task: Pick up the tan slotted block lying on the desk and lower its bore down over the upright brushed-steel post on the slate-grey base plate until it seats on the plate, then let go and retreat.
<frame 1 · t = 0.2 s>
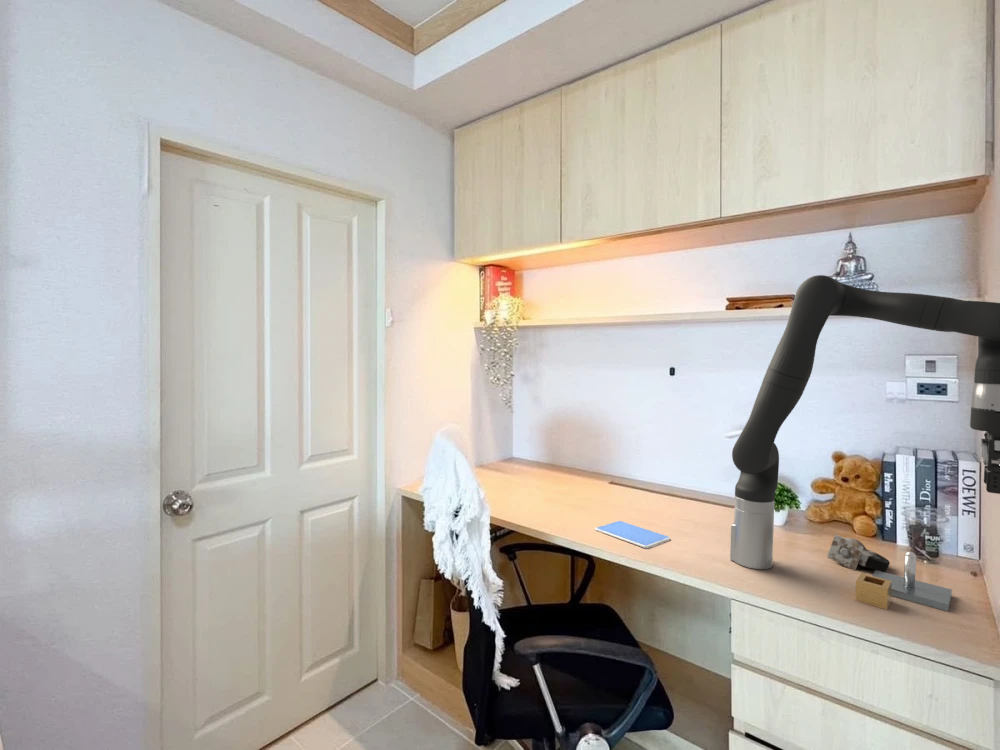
hand: (992, 488, 98), 28 cm above the table, fingers open, 8 cm apart
tablet computer: (631, 536, 150), on the table
tan slotted block: (873, 600, 110), on the table
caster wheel: (860, 566, 129), on the table
post block: (909, 592, 114), on the table
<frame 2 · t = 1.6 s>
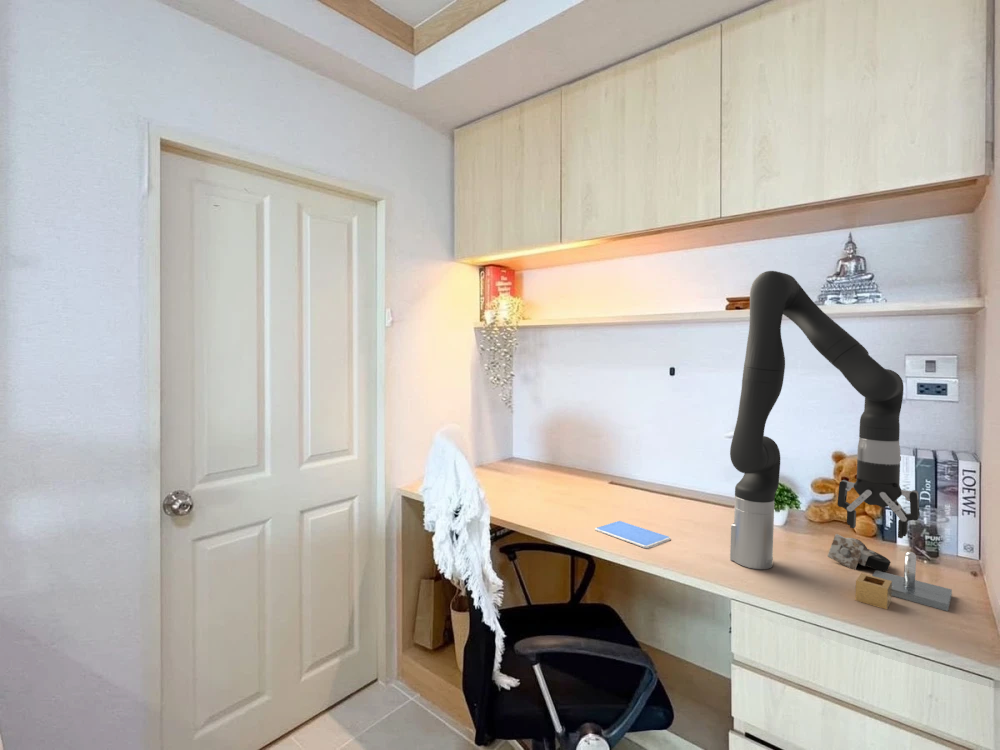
hand: (876, 532, 110), 15 cm above the table, fingers open, 8 cm apart
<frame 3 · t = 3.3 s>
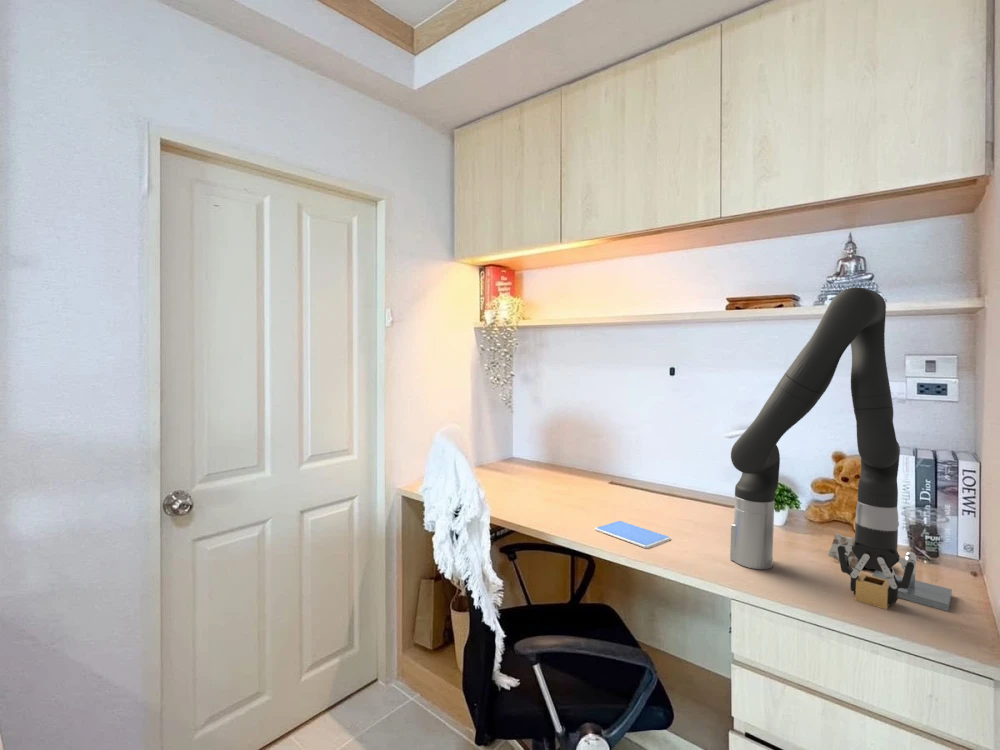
hand: (873, 598, 110), 1 cm above the table, fingers closed on tan slotted block, 5 cm apart
tan slotted block: (873, 600, 110), on the table, touching gripper
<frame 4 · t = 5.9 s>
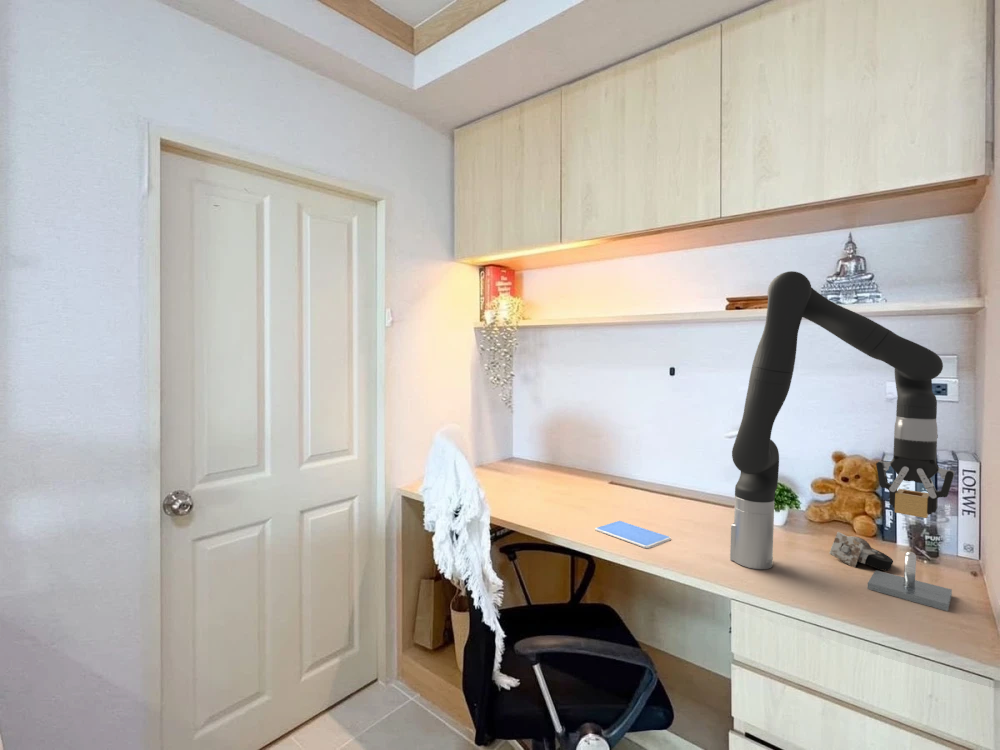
hand: (912, 510, 114), 19 cm above the table, fingers closed on tan slotted block, 5 cm apart
tan slotted block: (912, 512, 114), point 19 cm above the table, touching gripper
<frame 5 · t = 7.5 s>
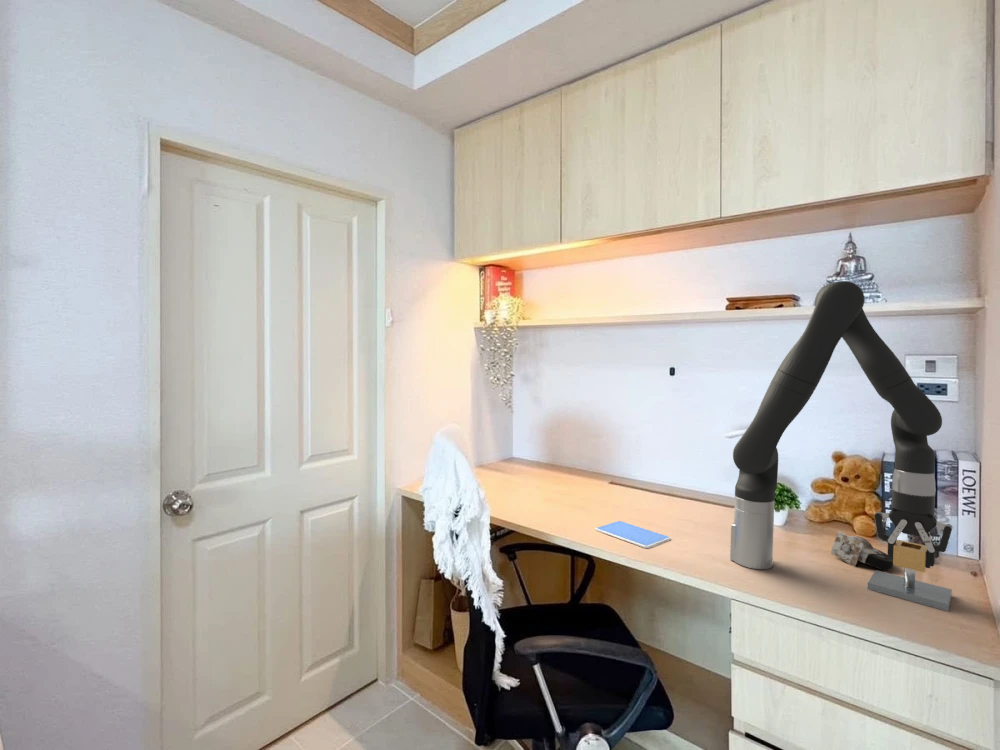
hand: (910, 562, 114), 7 cm above the table, fingers closed on tan slotted block, 5 cm apart
tan slotted block: (910, 565, 114), point 6 cm above the table, touching gripper
when the fingers open (3 cm above the table, at t = 8.8 s): tan slotted block stays where it is, resting on post block.
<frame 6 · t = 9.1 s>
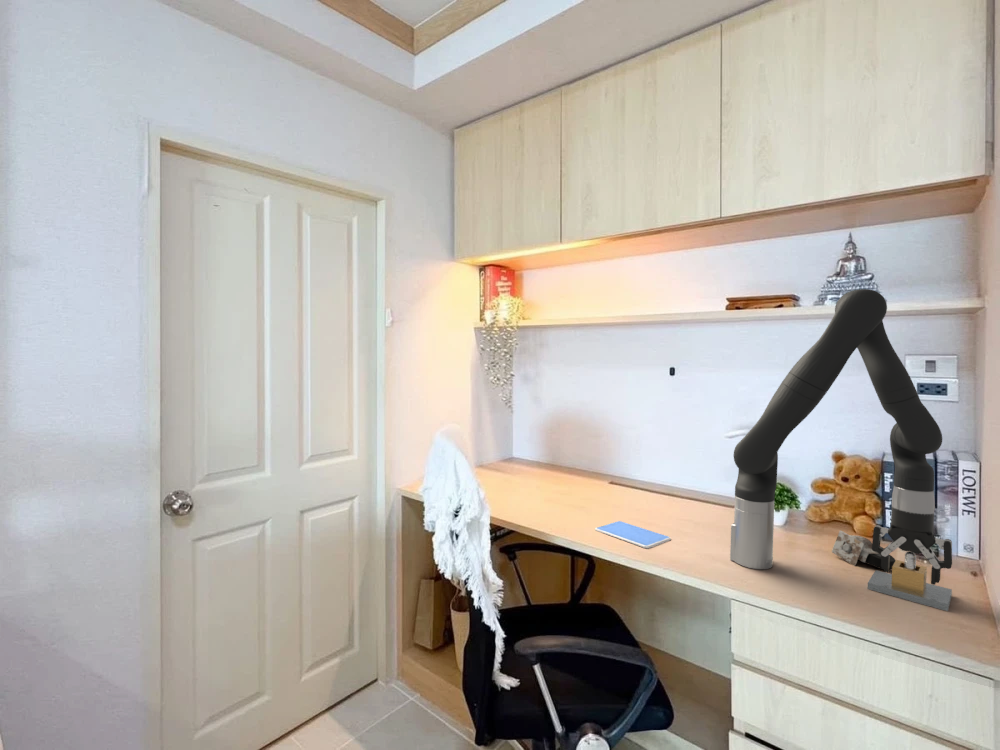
hand: (909, 577, 114), 4 cm above the table, fingers open, 8 cm apart
tan slotted block: (908, 586, 114), point 1 cm above the table, touching post block
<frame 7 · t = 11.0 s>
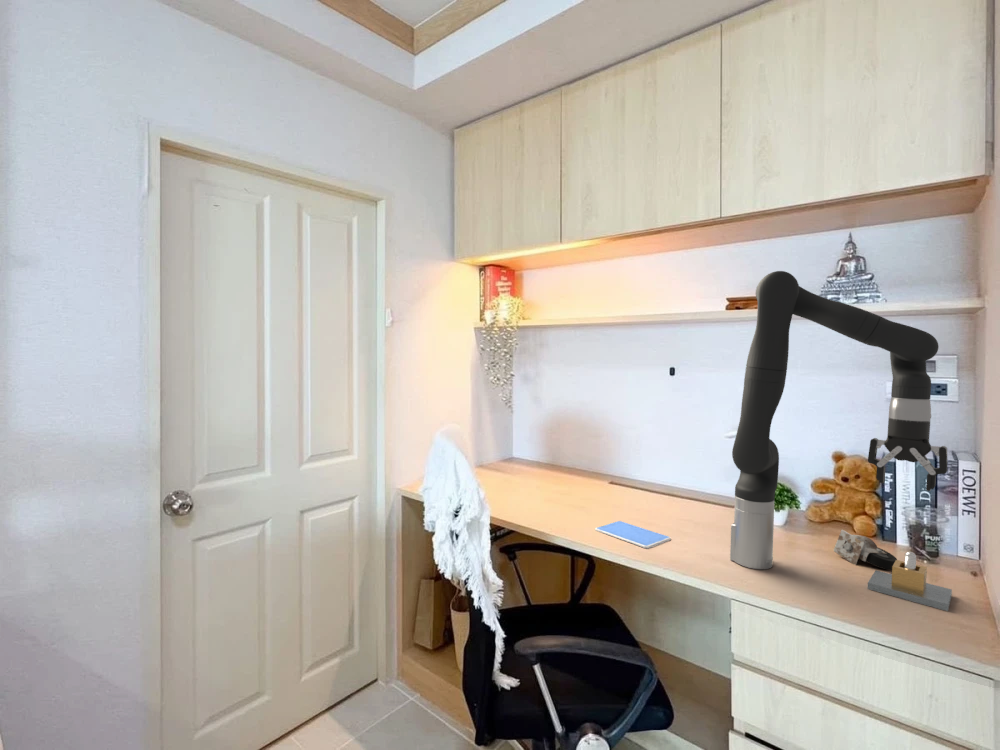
hand: (904, 486, 116), 24 cm above the table, fingers open, 8 cm apart
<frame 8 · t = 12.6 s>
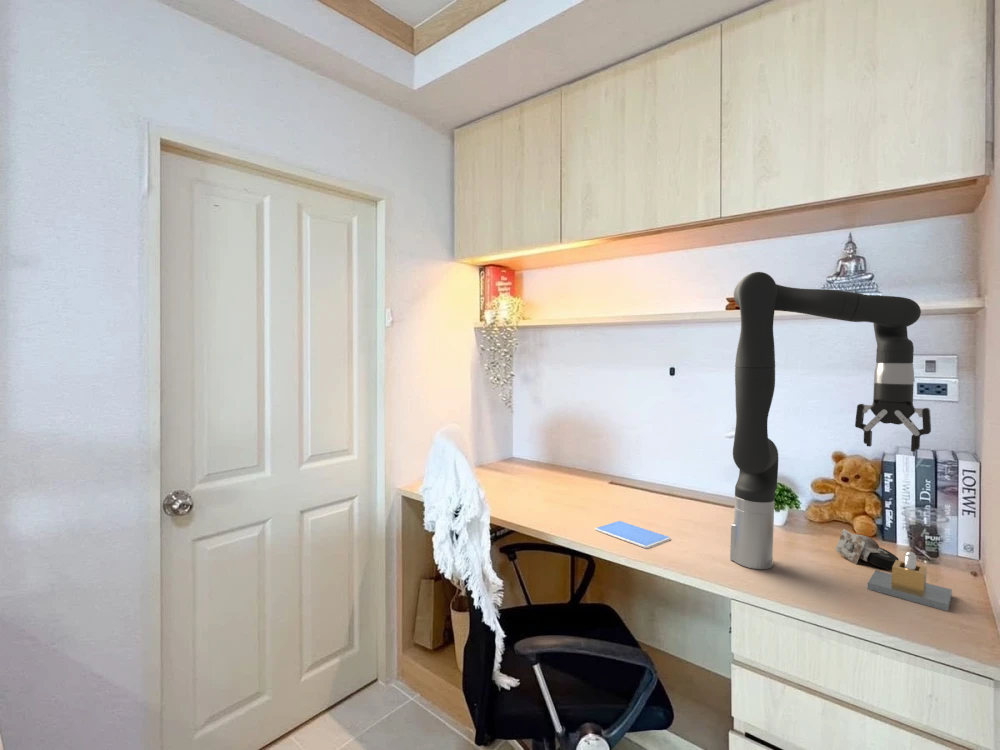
hand: (890, 448, 120), 32 cm above the table, fingers open, 8 cm apart
at the end: tan slotted block 0.1 cm off-centre on the post block, point 1.5 cm above the post block's base; tan slotted block tilted 0°; the gripper is holding nothing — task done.
